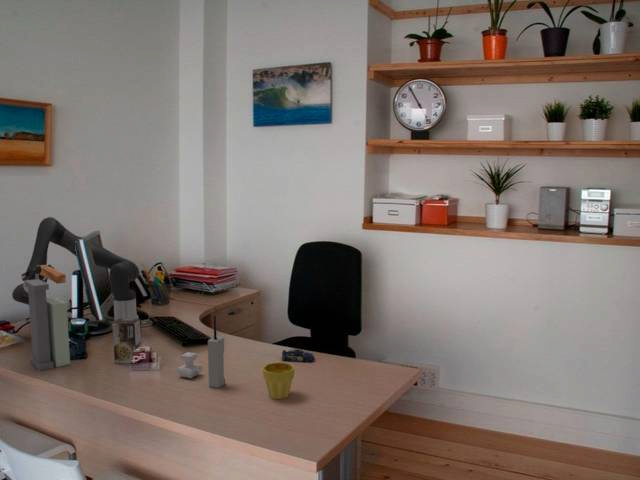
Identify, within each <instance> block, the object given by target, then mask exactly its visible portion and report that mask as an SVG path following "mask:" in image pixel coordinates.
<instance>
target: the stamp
mask: <svg viewBox="0 0 640 480" xmlns="http://www.w3.org/2000/svg"><path fill="white" fill-rule="evenodd" d="M197 357H198V354H197V353H195V352H189V351H187V352H185V353H184V354H182V355H181V354H180V359H181V361H183V362H185V364H182V365H180V366H178V367H177V368H176V373H177V374H178V375H179V376H180V377H181V378H182V377H183V378H188V379H192V378H194V377H196V376H199V374H200V373H201V371H202V370H203V365H201V364H198V363H194V361H195V360H197Z"/></svg>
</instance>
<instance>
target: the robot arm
mask: <svg viewBox="0 0 640 480" xmlns="http://www.w3.org/2000/svg"><path fill="white" fill-rule="evenodd" d="M81 238H84V237H82V236H78V235H76V234H74V233H73V232H71V231H70V230H68V229H67V228H66V227H65V226H64V225H63V224H62V223H61V222H60V221H59V220H57V219H56V218H54V217H52V216H47V217H45V218H43V219H42V220H41V222H40V223H39V225H38V228H37V231H36V237H35V243H34V246H33V251H32V255H31V258H30V261H29V263H28V266H27V268H26V271H25V272H23V273H22V274H21V275H20V276H21V279H22V281H23V282H22V283H20V284H18V285H17V286H16V287H15V288H14V289H13V291H12V292H11V293H12V294H11V296H12V297H11V298H12V299H13V300H14V301H15V302H18V303H20V304H25V305H27V306H29V295H28V287H26V286H25V281H27V280H35V279H40V280H42V281H43V282H45V283H48V280H49V279H48V278H46V277H44V276H42V275H40V274H39V273H40V272H41V265H47V266H48V267H51V268H53V269H55V267H54V266H53V265H51V264H50V263H49V264H48V250H49V245H50V243H53V245H56V246H60V247H61V248H64V249H66V250H67V251H68V252H70V253H71V254H72V255H74V256H75V257H77V255H76V251H75V241H77V240H78V239H81ZM91 250H92V254H93V258H94V261H95V264H96V265H95V266H97V267H101V268H106V269H107V270H108V269H109V282H110V291H111V294H112V296H113V314H114V322H115V321H116V320H118V319H140V318H139V315H138V314H137V294H136V291H135V290H133V289H132V290H131V289H130V284H129V283H131V282H134V281H135V280H137V279H138V278H139V277H140V276H139V275H140V269H139V267H138V265H136V263H135V262H133V261H131V260H129V259H127V258H124V257H122V256H120V255H117V254H115V253H113V252H112V251H110V250H108V249H107V248H105V247H103V246H101V245H99V244H98V243H96V242H95V241H92V240H91ZM38 265H40V266H38ZM37 266H38V267H37Z"/></svg>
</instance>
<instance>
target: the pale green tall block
mask: <svg viewBox="0 0 640 480" xmlns="http://www.w3.org/2000/svg"><path fill="white" fill-rule="evenodd" d="M46 300H47V316H48V332H49V347H50V360H51V361H52V362H53V363H54V367H56V368H59V367H63V366H67V365H71V358H70V356H71V355H70V354H71V353H70V342H69V341H70V340H69V337H70V336H69V322H68V321H69V320H68V305H67V303H68V302H66V301H65V300H63V299H60V298H58V297H57V296H55V297H48V298H47V297H46Z"/></svg>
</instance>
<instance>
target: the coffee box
mask: <svg viewBox="0 0 640 480" xmlns="http://www.w3.org/2000/svg"><path fill="white" fill-rule="evenodd" d="M141 321H142V320H141V318H139V319H118V320H116V321H115V320H114V321H113V322H112V323H111V324H112V325H111V327H112V338H113V339H112V340H113V354H114V355H113V356H114V364H128V365H129V364H130V362H131V357H132V353H133V351H134V350H136V349H137V348H139V347H142V348H143V342H142V324H141V323H142V322H141Z"/></svg>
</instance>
